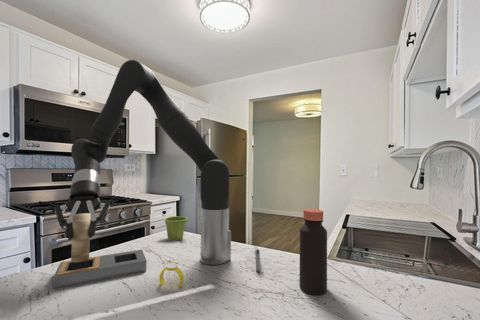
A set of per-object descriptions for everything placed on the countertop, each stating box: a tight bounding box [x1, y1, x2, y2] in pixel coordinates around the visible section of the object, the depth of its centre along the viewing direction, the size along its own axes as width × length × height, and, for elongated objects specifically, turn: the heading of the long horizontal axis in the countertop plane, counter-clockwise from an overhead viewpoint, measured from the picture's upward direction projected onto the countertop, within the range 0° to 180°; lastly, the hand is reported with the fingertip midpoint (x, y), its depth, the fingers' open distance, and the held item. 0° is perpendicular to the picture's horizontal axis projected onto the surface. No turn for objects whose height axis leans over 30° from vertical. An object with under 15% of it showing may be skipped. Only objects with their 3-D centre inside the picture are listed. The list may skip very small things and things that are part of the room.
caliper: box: [254, 245, 261, 272], centre depth 79 cm, size 20×1×6 cm, turn 178°
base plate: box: [52, 249, 147, 291], centre depth 66 cm, size 21×10×4 cm, turn 119°
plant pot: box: [163, 216, 188, 241], centre depth 99 cm, size 9×9×9 cm
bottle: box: [298, 208, 328, 296], centre depth 60 cm, size 7×7×20 cm
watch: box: [159, 263, 184, 288], centre depth 59 cm, size 6×3×6 cm, turn 78°
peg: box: [70, 213, 91, 262], centre depth 63 cm, size 4×4×12 cm
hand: (80, 236), depth 62 cm, fingers closed on peg, 4 cm apart
